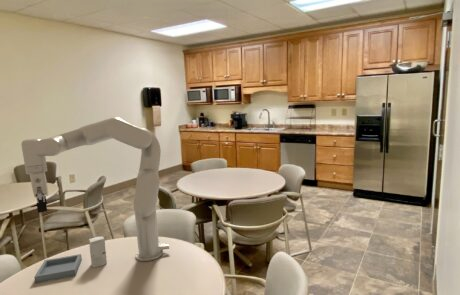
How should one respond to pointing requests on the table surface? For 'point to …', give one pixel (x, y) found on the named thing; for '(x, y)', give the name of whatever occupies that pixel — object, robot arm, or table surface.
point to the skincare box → (97, 251)
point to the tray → (58, 268)
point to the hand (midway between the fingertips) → (42, 208)
